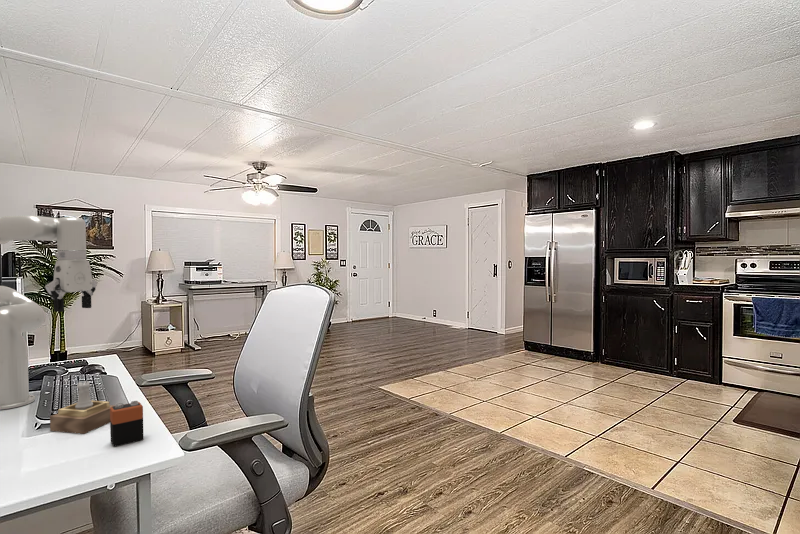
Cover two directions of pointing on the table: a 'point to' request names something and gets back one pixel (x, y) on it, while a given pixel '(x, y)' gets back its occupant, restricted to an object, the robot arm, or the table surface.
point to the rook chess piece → (83, 396)
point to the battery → (126, 423)
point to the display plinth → (81, 418)
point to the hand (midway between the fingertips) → (73, 309)
